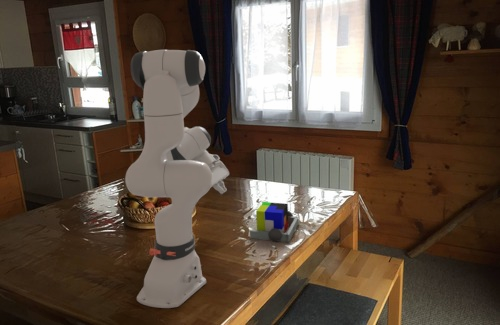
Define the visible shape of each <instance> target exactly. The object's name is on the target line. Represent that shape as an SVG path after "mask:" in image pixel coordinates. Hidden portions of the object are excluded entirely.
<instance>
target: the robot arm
mask: <svg viewBox="0 0 500 325" xmlns="http://www.w3.org/2000/svg"><path fill="white" fill-rule="evenodd" d="M130 74H131V78H132V80H133V81H134V83H135V84H136V85H137V86H138V87H139V88H141V89H142V91H143V93H142V94H143V97H142V99H143V100H142V104H143V105H142V107H143V108H142V109H143V110H142V111H143V120H144V145H143V148H142V151H141V153H140V155H139V157H138V158H137V159H136V160H135V161H134V162H133V163H132V164H130V166H129V167H128V169H127V170H126V173H125V176H124V178H125V179H124V180H125V185H126V188H127V189H128V191H129V192H130V194H132V195H134V196H138V197H143V198H170V199H171V204H168V205H166V206H165V207H163V208H161V209H160V210H158V211H157V213H156V214H155V217H154V221H153V222H154V230H155V238H156V239H155V241H154V242H155V243H154V247H153V248H152V247H151V248H150V249H149V255H150V256H153V258H152V260H151V263H150V264H149V267H148V269H147V272H146V274H145V276H144V279H143V287H142V288H141V290H140V291H139V293H138V294H137V296H136V301H137V302H138V303H139V304H141V305H144V306H146V307H152V308H158V309H159V308H161V309H171V308H172V309H173V308H177V307H180V306H181V305H182V304H184V302H186V301H187V300H188V299H190V298H191V297H192V296H193V295H194V294H195V293H196V292H197V291H199V290H200V289H201V288H202V287H203V286H204V285H206V284H207V279H206V277H204V276H203V274H202V273H203V272H202V267H201V266H202V265H201V261H200V260H201V259H200V257H199V255H198V254H197V252H196V250H195V247H196V240H195V236H194V235H193V212H194V208H195V207H196V205H197V203H198V201H199V200H200V199H201V198H202V197H204V196H205V195H206V194H207V193H208V192H209V191H210V189H211V188H212V187H213V189H214V190H216V191H218V192H219V193H220V195H223V194H225V192H227V187H226V186H225V182H224V179H226V178H227V177H228V176H230V171H229V169H228V168H227V166H226V165H225V164H224V163H223V161H221V160H220V159H221V158H220V156H219V155H218V154H211V153H209V151H208V150H207V149H208V148H209V147H210V145H211V142H212V137H211V135H210V133H209V132H208V131H207V130H206V128H204V127H202V126H197V125H196V126H193V127H192V128H189V127H187V126H185V122H184V121H185V120H184V118H186V116H188V115H189V113H190V112H191V111H193V109H194V108H195V107H196V106H197V104H198V102H199V100H200V87H199V85H200V84H201V83H202V82H203V81H204V78H205V74H206V63H205V61H204V59H203V55H202V54H200V52H198V51H196V50H194V49H193V50H191V49H187V50H181V49H157V50H150V51H146V50H143V51H139V52H136V53H134V55H133V56H132V58H131V61H130Z"/></svg>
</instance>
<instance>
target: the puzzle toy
mask: <svg viewBox="0 0 500 325" xmlns="http://www.w3.org/2000/svg"><path fill="white" fill-rule="evenodd" d="M288 211H289V204H288V203H281V202H270V201H269V202H267V201H263V202H261V204H260V206H259V207H258V208H257V209H256V212H255V214H256V215H255V216H256V217H255V218H256V230H260V231H270V230H271V229H273V228H276V229H279V230H280V231H281V233H287V231H288V229H289V224H288Z"/></svg>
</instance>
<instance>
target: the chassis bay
mask: <svg viewBox="0 0 500 325" xmlns="http://www.w3.org/2000/svg"><path fill="white" fill-rule="evenodd" d="M299 222H300V220H299V216H293V213H292V212H291V211H290V210H288V225H290V226H289V227H288V229H287V231H286V232H285V233H281V231H280V230H279V229H276V228H273V229H271V230H270V231H260V230H257V229H250V230H249V235H250V236H249V238H250V239H255V240H266V241H272V242H274V243H275V242H276V243H278V242H283V243H284V242H286V243H289V242H290V243H291V240H292V237H293V236H294V234H295V231H296V230H297V227H298V226H299Z"/></svg>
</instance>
